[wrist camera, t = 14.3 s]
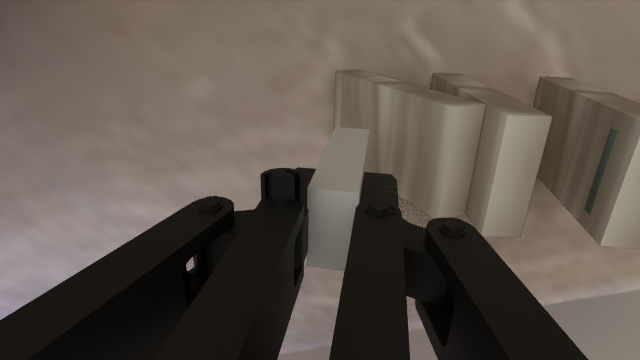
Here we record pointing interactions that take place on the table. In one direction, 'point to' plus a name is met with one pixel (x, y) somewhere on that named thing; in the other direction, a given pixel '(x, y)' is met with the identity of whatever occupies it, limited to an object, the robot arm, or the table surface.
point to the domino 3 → (593, 158)
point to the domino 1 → (414, 137)
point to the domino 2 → (500, 156)
